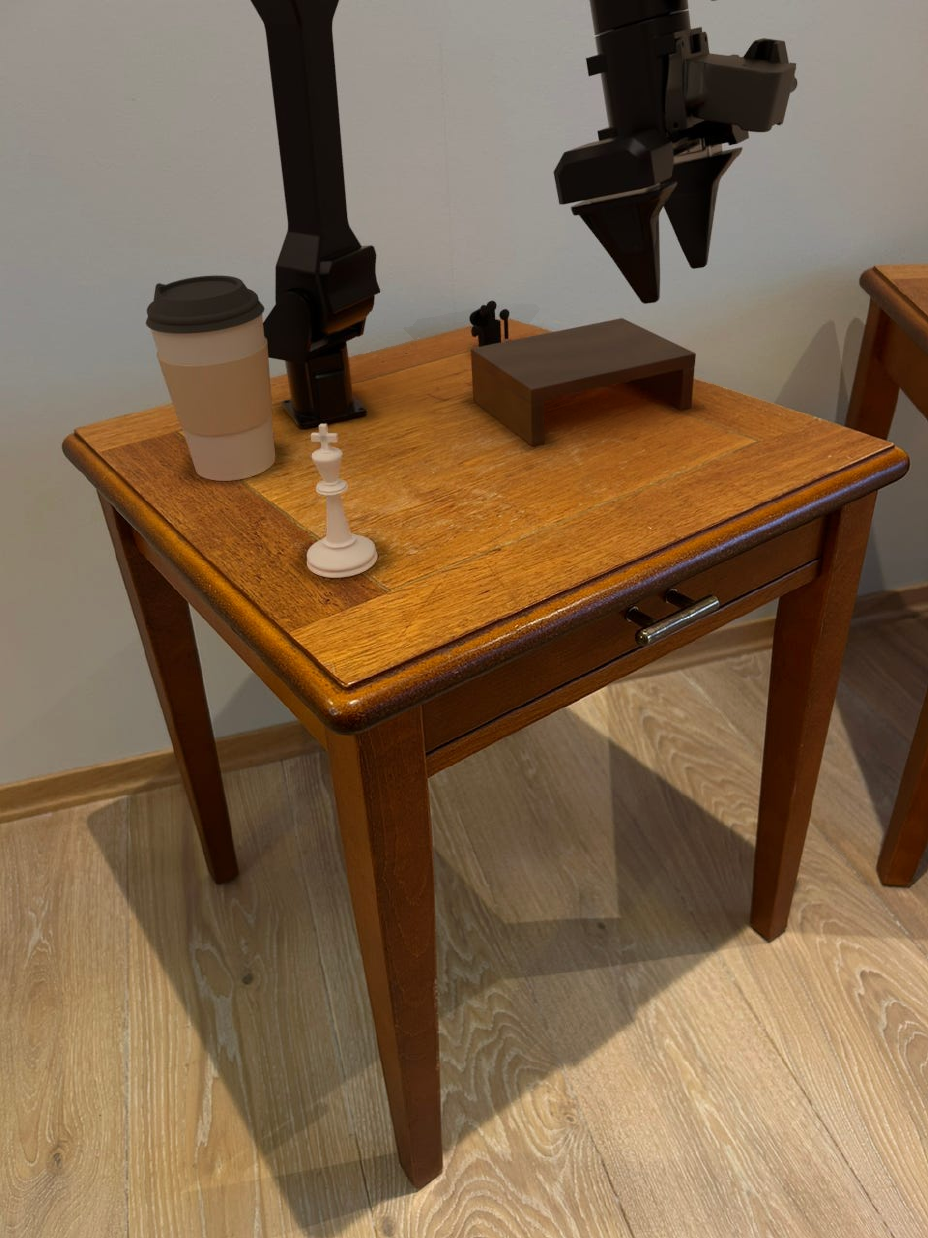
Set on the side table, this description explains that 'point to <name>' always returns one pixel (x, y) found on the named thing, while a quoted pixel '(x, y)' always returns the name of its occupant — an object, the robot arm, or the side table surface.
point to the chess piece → (336, 519)
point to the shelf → (576, 371)
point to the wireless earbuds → (488, 324)
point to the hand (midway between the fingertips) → (676, 284)
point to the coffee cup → (216, 372)
